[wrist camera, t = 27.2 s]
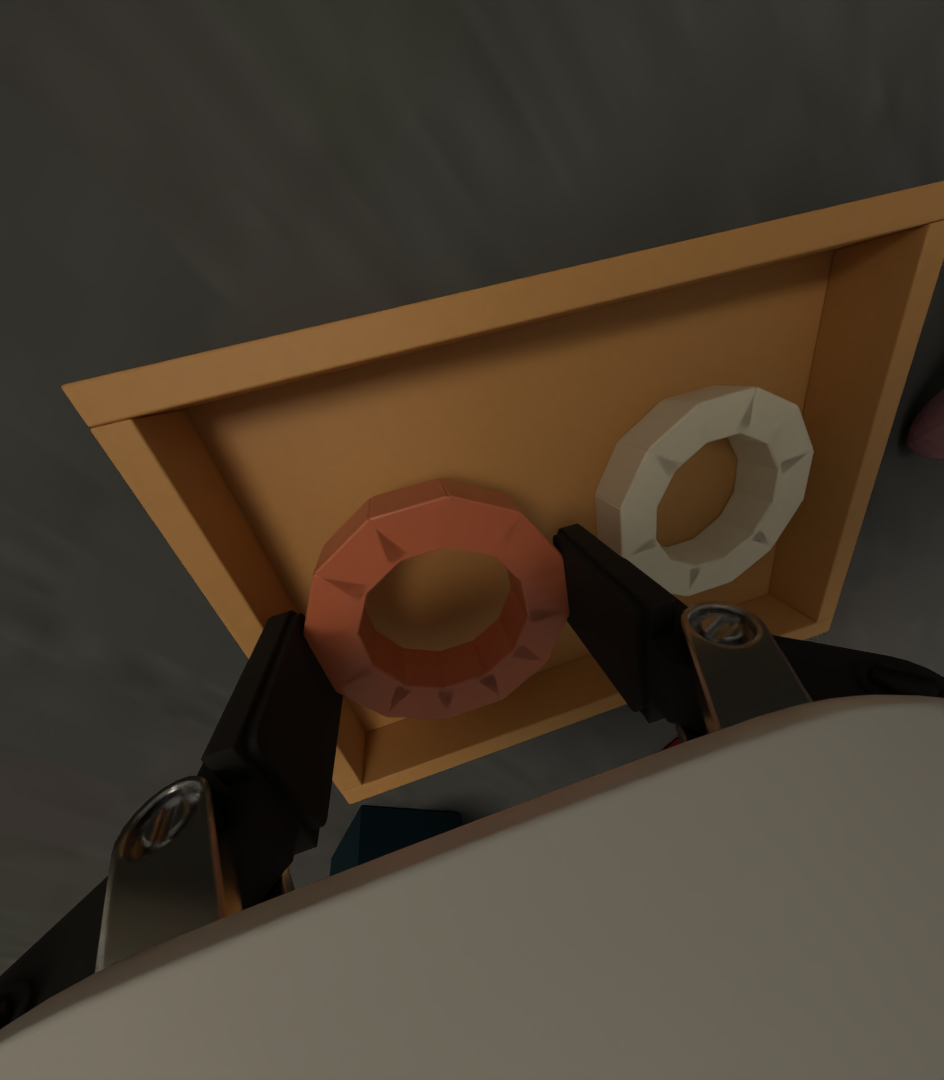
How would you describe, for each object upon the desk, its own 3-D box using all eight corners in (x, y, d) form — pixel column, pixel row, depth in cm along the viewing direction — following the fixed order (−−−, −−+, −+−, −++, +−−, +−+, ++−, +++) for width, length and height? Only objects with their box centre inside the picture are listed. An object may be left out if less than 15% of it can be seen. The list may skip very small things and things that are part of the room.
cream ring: (588, 419, 11) (617, 425, 10) (780, 365, 12) (833, 364, 11) (600, 595, 15) (624, 618, 13) (752, 544, 15) (790, 562, 14)
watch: (319, 879, 20) (252, 1387, 10) (374, 782, 17) (359, 1317, 7) (415, 879, 22) (439, 1297, 12) (476, 792, 19) (568, 1222, 10)
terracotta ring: (262, 607, 10) (242, 645, 9) (440, 424, 9) (449, 434, 8) (439, 708, 13) (445, 749, 12) (586, 580, 12) (612, 608, 11)
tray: (146, 382, 9) (57, 384, 7) (840, 218, 11) (971, 174, 9) (354, 737, 16) (349, 805, 13) (767, 595, 18) (829, 631, 15)
